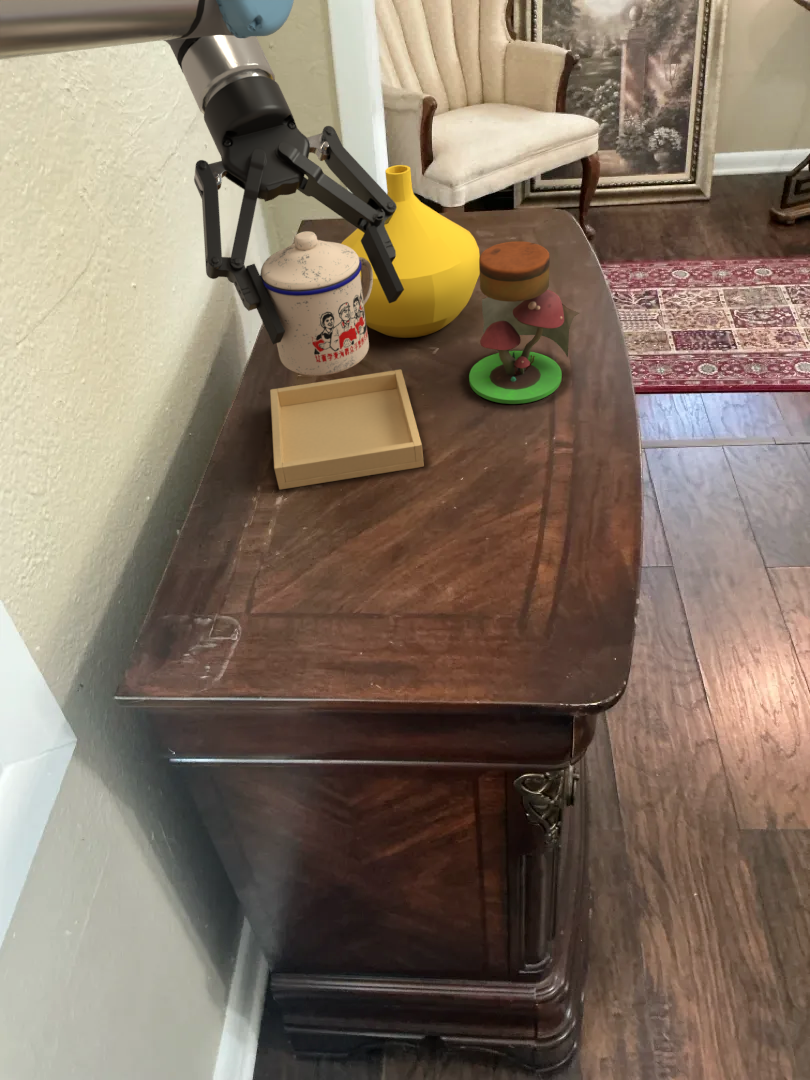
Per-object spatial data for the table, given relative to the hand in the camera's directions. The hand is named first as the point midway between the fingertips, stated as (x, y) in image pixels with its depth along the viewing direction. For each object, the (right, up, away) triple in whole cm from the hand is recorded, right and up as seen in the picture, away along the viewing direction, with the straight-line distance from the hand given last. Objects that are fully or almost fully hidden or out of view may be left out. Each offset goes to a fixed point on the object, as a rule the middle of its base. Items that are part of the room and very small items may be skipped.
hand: (339, 317), depth 79 cm
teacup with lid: (-1, -2, +5) cm, 5 cm away
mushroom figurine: (+19, -2, +21) cm, 29 cm away
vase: (+7, +8, +34) cm, 36 cm away
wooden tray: (-1, -9, +16) cm, 18 cm away
